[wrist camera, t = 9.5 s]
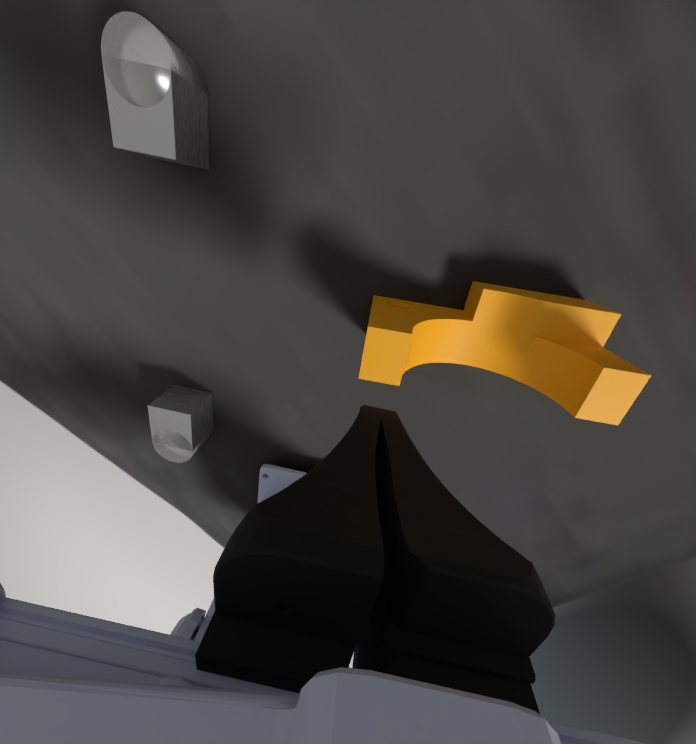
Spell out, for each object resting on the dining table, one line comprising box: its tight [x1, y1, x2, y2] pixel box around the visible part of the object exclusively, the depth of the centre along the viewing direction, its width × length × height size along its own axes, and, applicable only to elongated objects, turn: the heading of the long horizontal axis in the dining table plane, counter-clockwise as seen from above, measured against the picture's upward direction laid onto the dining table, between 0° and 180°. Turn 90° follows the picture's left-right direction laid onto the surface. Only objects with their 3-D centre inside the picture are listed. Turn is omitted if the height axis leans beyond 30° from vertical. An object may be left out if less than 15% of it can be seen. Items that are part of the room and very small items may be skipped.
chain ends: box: [101, 11, 214, 463], centre depth 19 cm, size 24×3×3 cm, turn 169°
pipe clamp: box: [359, 281, 651, 425], centre depth 16 cm, size 12×4×6 cm, turn 82°
